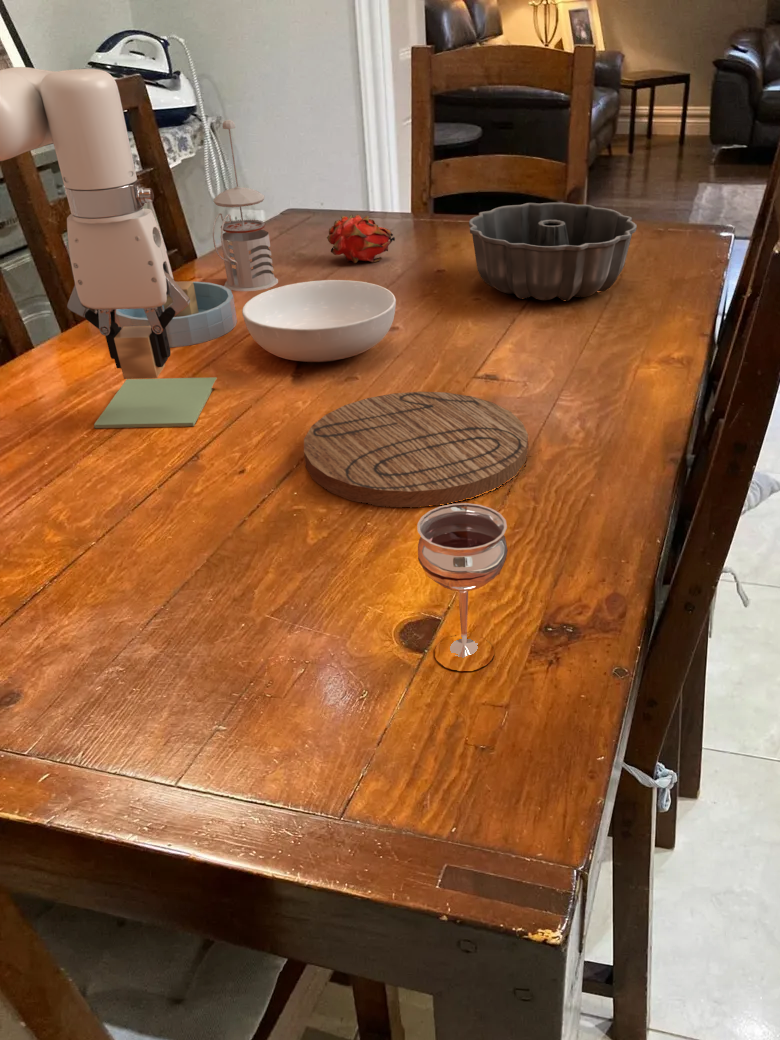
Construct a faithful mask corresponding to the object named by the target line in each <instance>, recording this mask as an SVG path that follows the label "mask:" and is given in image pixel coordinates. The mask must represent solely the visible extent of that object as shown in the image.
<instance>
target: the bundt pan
mask: <svg viewBox="0 0 780 1040" xmlns="http://www.w3.org/2000/svg"><path fill="white" fill-rule="evenodd" d="M632 218H633V217H631V216H627V215H623V214H622V213H621V212H620V211H617V210H614V209H611V208H605V207H597V206H596V207H595V206H593V205H591V204H576V203H568V202H543V203H536V202H526V203H523V204H512V205H510V204H509V205H501V206H498V207H495V208H493V209H491V210H486V211H485V210H484V211H480V212H478V215H477V216H474V217H472V218H470V219H469V221H468V226H469V234H471V237H472V243H473V248H474V249H473V250H474V256H475V262H476V263H475V264H476V268H477V273H478V275H479V277H480V279H482V280H483V282H484V283H485V284H486V285H488V286H490V287H492V288H494V289H496V290H497V291H499V292H501V293H503V294H506V295H515V296H516V297H517V298H519V299H520V300H523V299H522V298H526V299H528V298H530V297H532V298H534V299H536V300H538V301H551V300H553V299H555V298H558V299H559V300H561V299H562V300H561V301H563V300H566V301H565V302H568V301H570V300H571V299H572V298H573V297H575V298H586V297H590V296H592V295H594V294H596V293H595V292H597V291H603V292H605V291H607V290H609V289H610V288H611V287H613V284H614V283H615V282H616V281H617V279H618V277H619V276H620V274H621V273H622V271H623V270H624V267H625V264H626V260H627V256H628V252H629V249H630V245H631V240H632V238H633V237H632V236H633V234H635V232H637V227H638V226H637V223H635V222H634V221H632ZM527 297H528V298H527Z"/></svg>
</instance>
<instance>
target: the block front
mask: <svg viewBox="0 0 780 1040" xmlns="http://www.w3.org/2000/svg"><path fill="white" fill-rule="evenodd" d="M151 333H152V331H151V326H125V327H123V328H122V329H121V330H120V332H119V333H118V334H117V335H116V336H115V338H114V341H115V345H116V349H117V353H118V357H119V361H120V365H121V368H120V369H121V373H122V377H123V380H127V379H158V377H159V376H160V375H161V373H162V371H163V370H164V368H165V367H166V363H165V364H164V365H163V367H157V366H156V364H155V359H154V355H153V350H152V346H151V342H150V334H151Z"/></svg>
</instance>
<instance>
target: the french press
mask: <svg viewBox="0 0 780 1040" xmlns="http://www.w3.org/2000/svg"><path fill="white" fill-rule="evenodd" d="M222 129H223V130H228V136H229V142H230V148H231V157H232V163H233V170H234V176H235V183H236V186H235V187H232V188H228V189H225V190H224V191H222V192H219V194H218V195H216V196H215V198H214V199H213V200H212V201H213V203H214V204H215V205H216V206H218V207H222V208H239V212H240V219H236V220H232V217H231V214H230V213H228V214H226V215H225V216H224V218H223V213H222V212H220V213H218V214H217V215H216V217H215V218H214V222H213V226H212V242H213V247H214V249H215V252H216V254H217V256H218V257H219V258H220V259H221V260H222V261H223V263H224V269H225V274H226V281H225V282H224V285H223V286H224V287H226V288H228V289H230V290H231V291H235V292H255V291H262V290H267V289H270V288H272V287H275V286H276V285H277V284H278V283H279V279H278V278H277V277H275V274H274V273H273V272H274V266H273V265H272V264H273V258H272V257H271V256H272V251H271V249H270V248H271V242H270V233H269V232H268V231H267V230H264V229H265V227H266V223H265V222H264V221H263V220H260V219H253V218H252V219H250V218H249V219H246V218H245V219H244V218H243V217H244V216H243V211H242V208H243V207H249V206H255V205H258V204H260V203H262V202H264V200H265V195H264V194H263V193H261V192H259V191H258V190H257V189H256V190H255V189H253V188H249V187H242V186H239V182H238V175H237V169H236V162H235V154H234V147H233V140H232V134H231V133H232V132H231V130H233V129H236V124H235V122H234V121H233V120H232V119H226V120H224V121H223V123H222ZM219 217H220V219H221V221H222V225H221V226H220V243H221V250H222V255H221V254H220V252H219V249H218V248H217V244H216V239H215V229H216V223H217V221H218V218H219ZM227 218H229V221H228V220H227ZM229 242H231V244H229ZM230 250H232V251H233V252H231V251H230ZM222 256H223V257H222ZM232 258H233V259H232ZM233 266H235V267H233Z"/></svg>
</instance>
